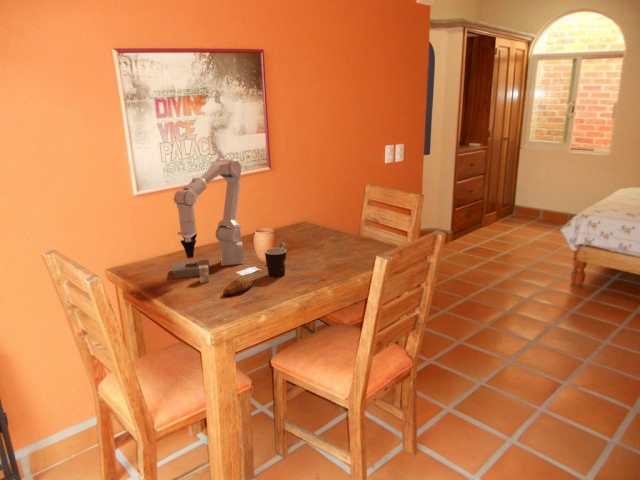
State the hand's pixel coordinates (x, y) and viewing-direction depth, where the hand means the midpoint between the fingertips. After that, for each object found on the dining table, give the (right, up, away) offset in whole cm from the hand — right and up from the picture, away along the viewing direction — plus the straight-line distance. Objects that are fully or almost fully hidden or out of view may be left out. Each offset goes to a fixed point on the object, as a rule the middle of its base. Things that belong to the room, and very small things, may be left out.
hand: (190, 254), depth 188 cm
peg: (+6, -10, -1) cm, 12 cm away
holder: (-2, -7, +9) cm, 12 cm away
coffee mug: (+34, -8, +5) cm, 35 cm away
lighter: (+32, -4, +20) cm, 38 cm away
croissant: (+21, -13, -12) cm, 27 cm away
